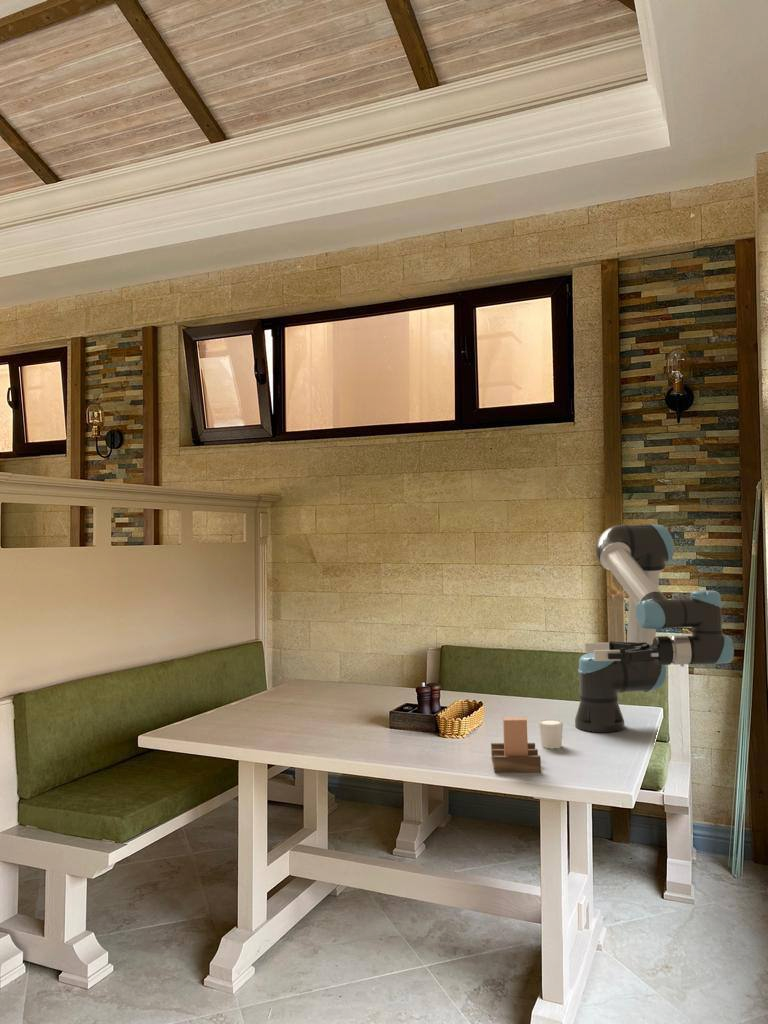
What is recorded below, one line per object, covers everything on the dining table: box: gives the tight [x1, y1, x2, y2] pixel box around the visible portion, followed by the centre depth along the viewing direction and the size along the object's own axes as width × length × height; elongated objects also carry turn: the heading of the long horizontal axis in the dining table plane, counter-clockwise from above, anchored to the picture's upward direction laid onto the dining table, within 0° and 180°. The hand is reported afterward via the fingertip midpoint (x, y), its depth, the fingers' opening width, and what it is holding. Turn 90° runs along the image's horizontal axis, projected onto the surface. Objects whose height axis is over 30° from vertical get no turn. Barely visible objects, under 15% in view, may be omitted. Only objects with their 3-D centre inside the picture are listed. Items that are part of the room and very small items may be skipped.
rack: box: [490, 742, 542, 773], centre depth 211 cm, size 14×12×4 cm
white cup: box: [538, 719, 564, 750], centre depth 228 cm, size 7×7×7 cm
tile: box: [502, 716, 529, 756], centre depth 208 cm, size 3×6×12 cm, turn 85°
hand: (589, 651), depth 210 cm, fingers open, 13 cm apart
